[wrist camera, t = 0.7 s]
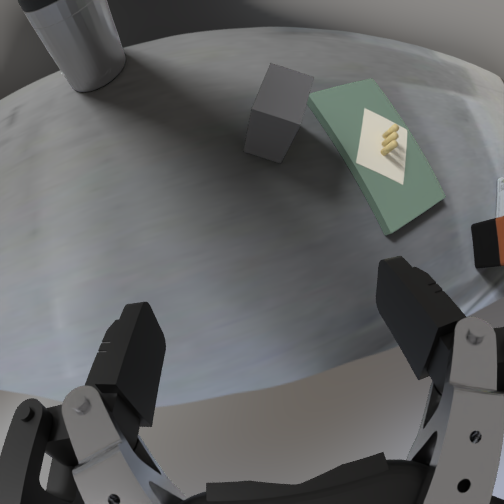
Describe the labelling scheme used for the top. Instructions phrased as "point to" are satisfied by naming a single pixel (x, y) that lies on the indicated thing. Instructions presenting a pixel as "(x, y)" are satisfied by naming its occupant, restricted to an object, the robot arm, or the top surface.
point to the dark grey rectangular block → (277, 112)
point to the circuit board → (378, 151)
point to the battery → (489, 242)
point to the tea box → (500, 198)
